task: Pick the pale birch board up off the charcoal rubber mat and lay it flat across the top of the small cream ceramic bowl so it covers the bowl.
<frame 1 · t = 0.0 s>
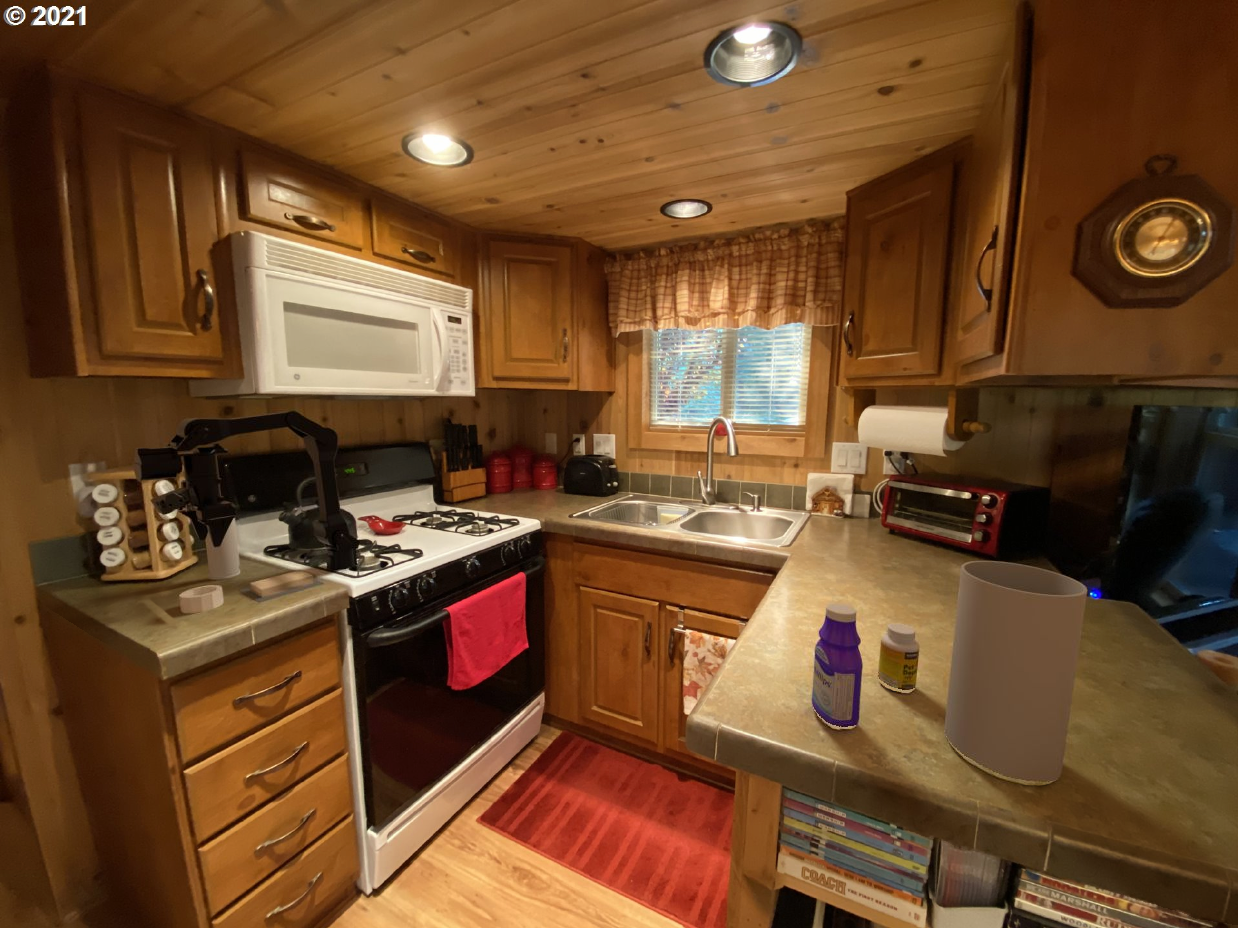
hand: (209, 543, 109), 15 cm above the table, tool pointing down, fingers open, 9 cm apart
travel mug: (226, 579, 127), on the table
cylinder vase: (998, 754, 66), on the table
supplement bottle: (896, 686, 81), on the table
rubber mat: (283, 590, 119), on the table
ceramic bowl: (203, 610, 108), on the table
birch board: (282, 586, 119), point 1 cm above the table, touching rubber mat
bottle: (833, 719, 73), on the table
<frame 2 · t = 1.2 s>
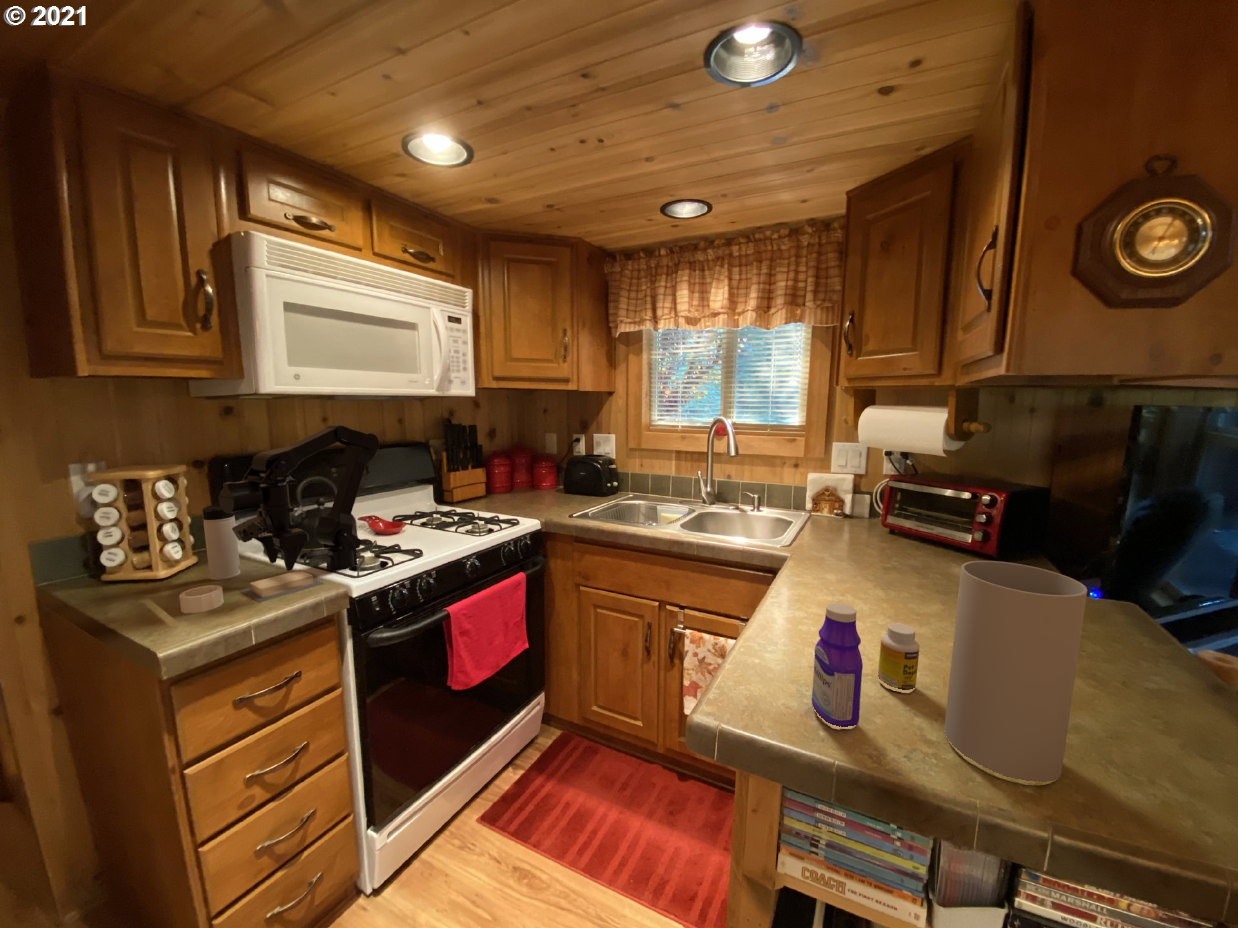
hand: (281, 566, 119), 6 cm above the table, tool pointing down, fingers open, 9 cm apart
nothing on the table moved.
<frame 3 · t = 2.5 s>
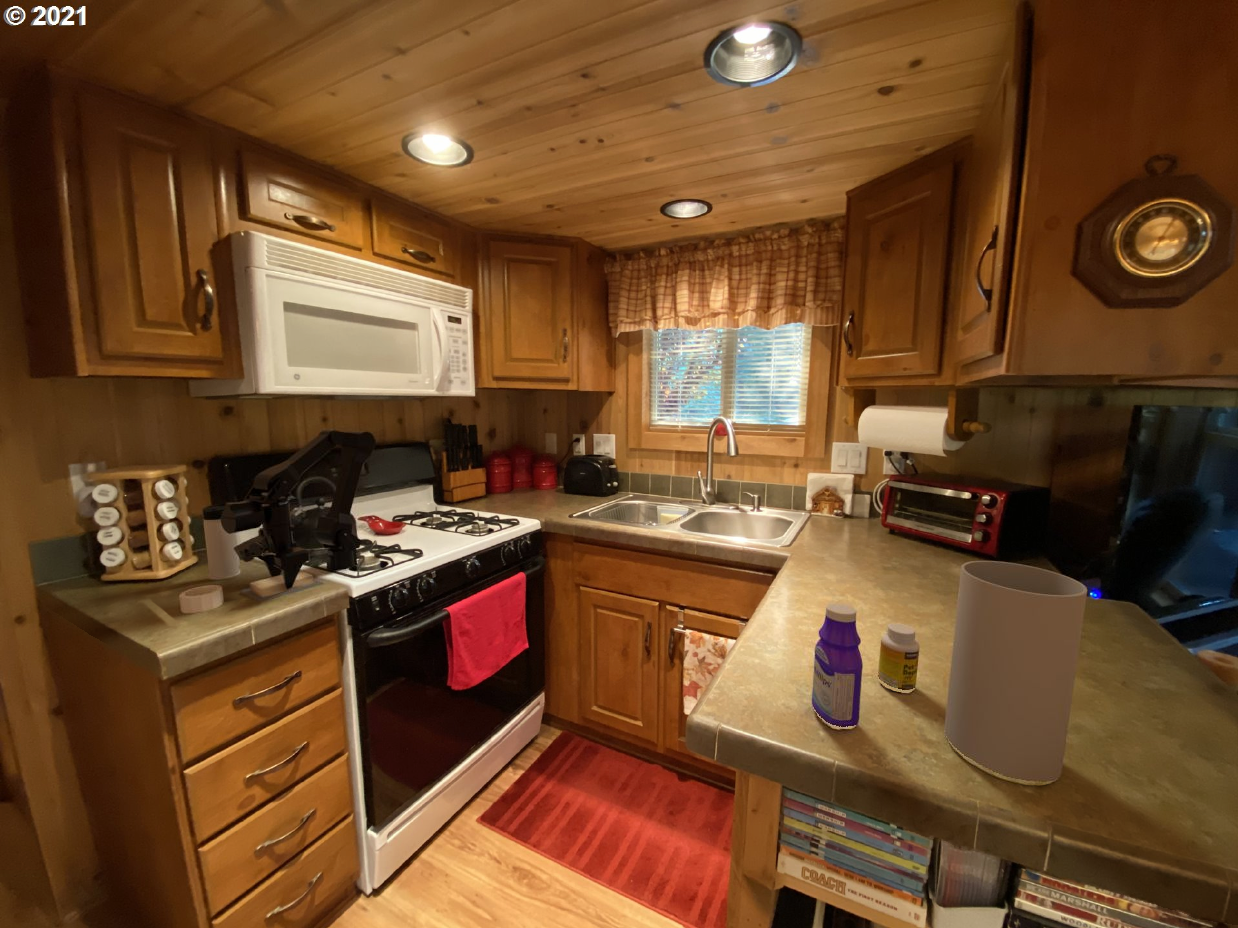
hand: (282, 584, 119), 2 cm above the table, tool pointing down, fingers closed on birch board, 7 cm apart
birch board: (282, 586, 119), point 1 cm above the table, touching gripper, rubber mat
everything else where it was.
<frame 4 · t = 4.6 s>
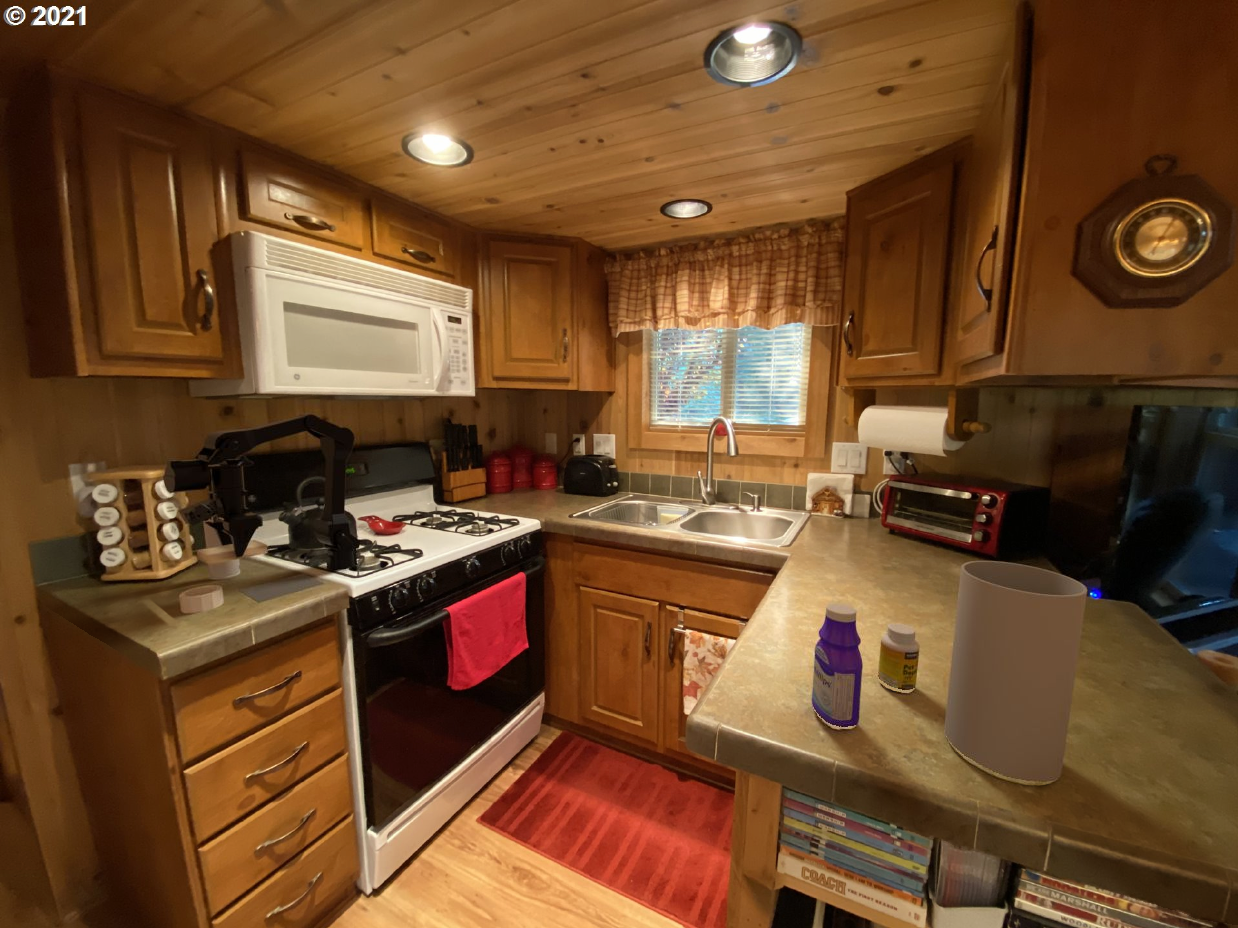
hand: (233, 553, 111), 12 cm above the table, tool pointing down, fingers closed on birch board, 7 cm apart
birch board: (233, 555, 111), point 11 cm above the table, touching gripper
everything else where it was.
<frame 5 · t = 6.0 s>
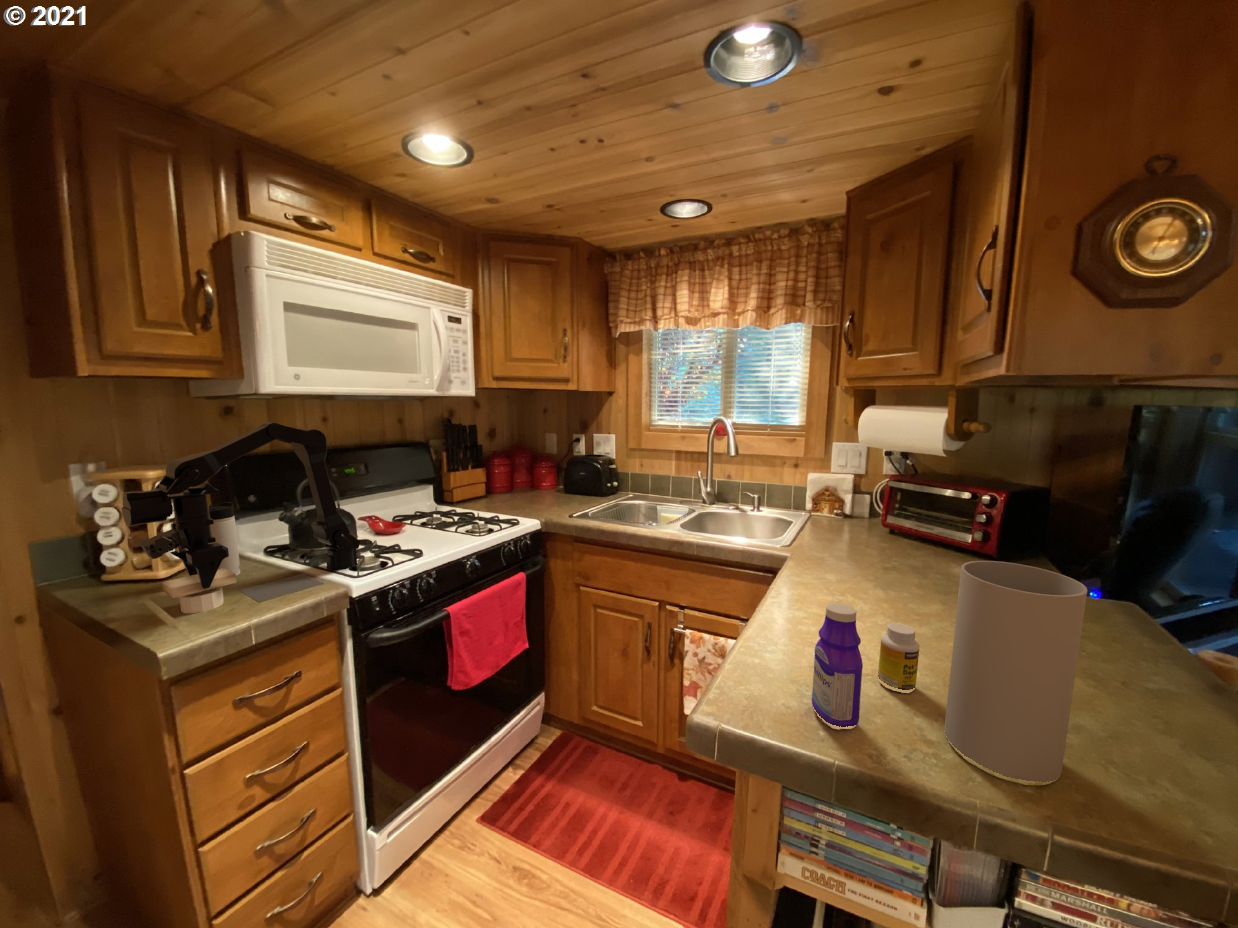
hand: (200, 584, 108), 6 cm above the table, tool pointing down, fingers closed on birch board, 7 cm apart
birch board: (200, 586, 108), point 6 cm above the table, touching gripper
everything else where it was.
when the fingers open (6 cm above the table, at t = 6.9 s): birch board drops 1 cm, resting on ceramic bowl.
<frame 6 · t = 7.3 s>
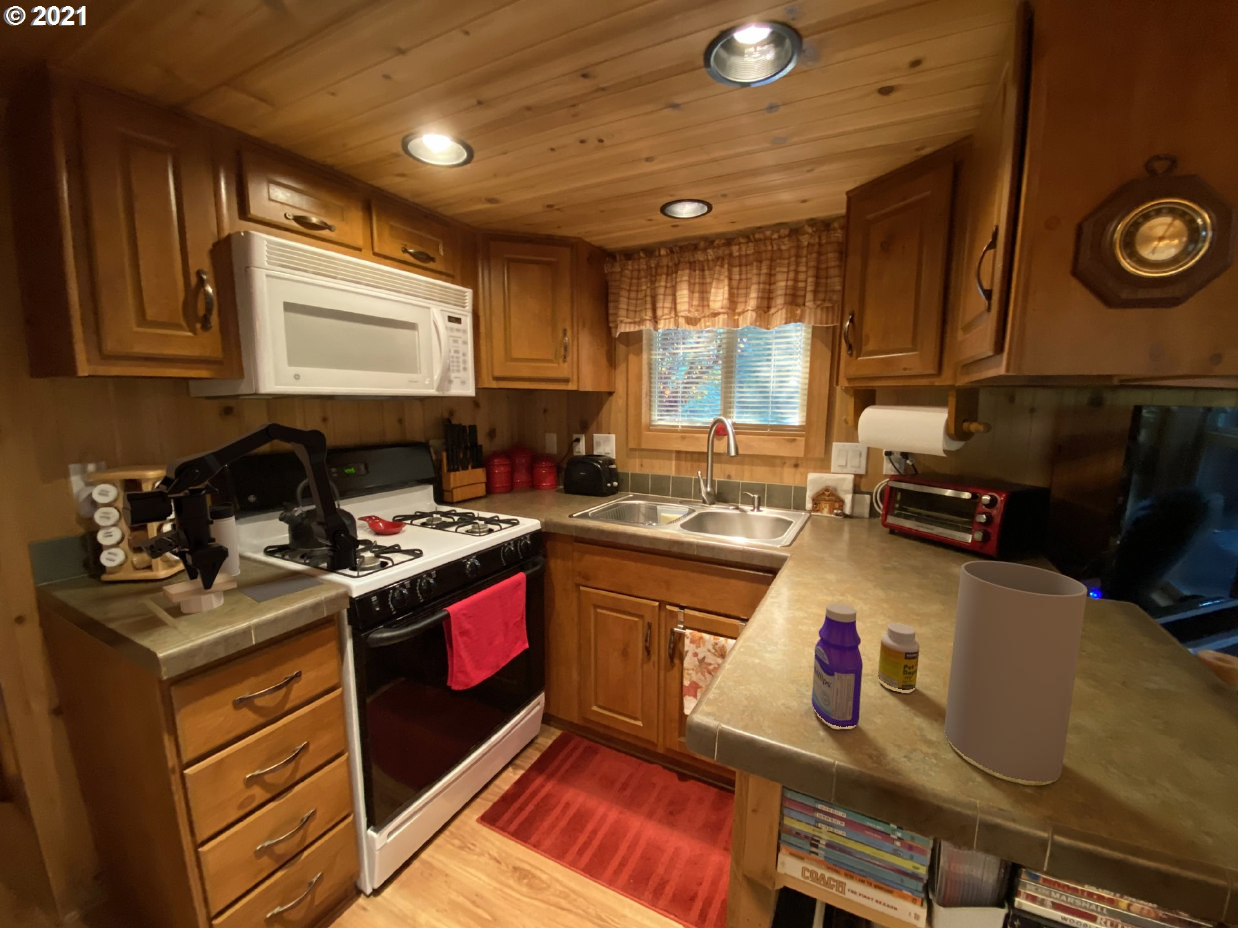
hand: (200, 584, 108), 6 cm above the table, tool pointing down, fingers open, 9 cm apart
birch board: (201, 591, 108), point 4 cm above the table, touching ceramic bowl
everything else where it was.
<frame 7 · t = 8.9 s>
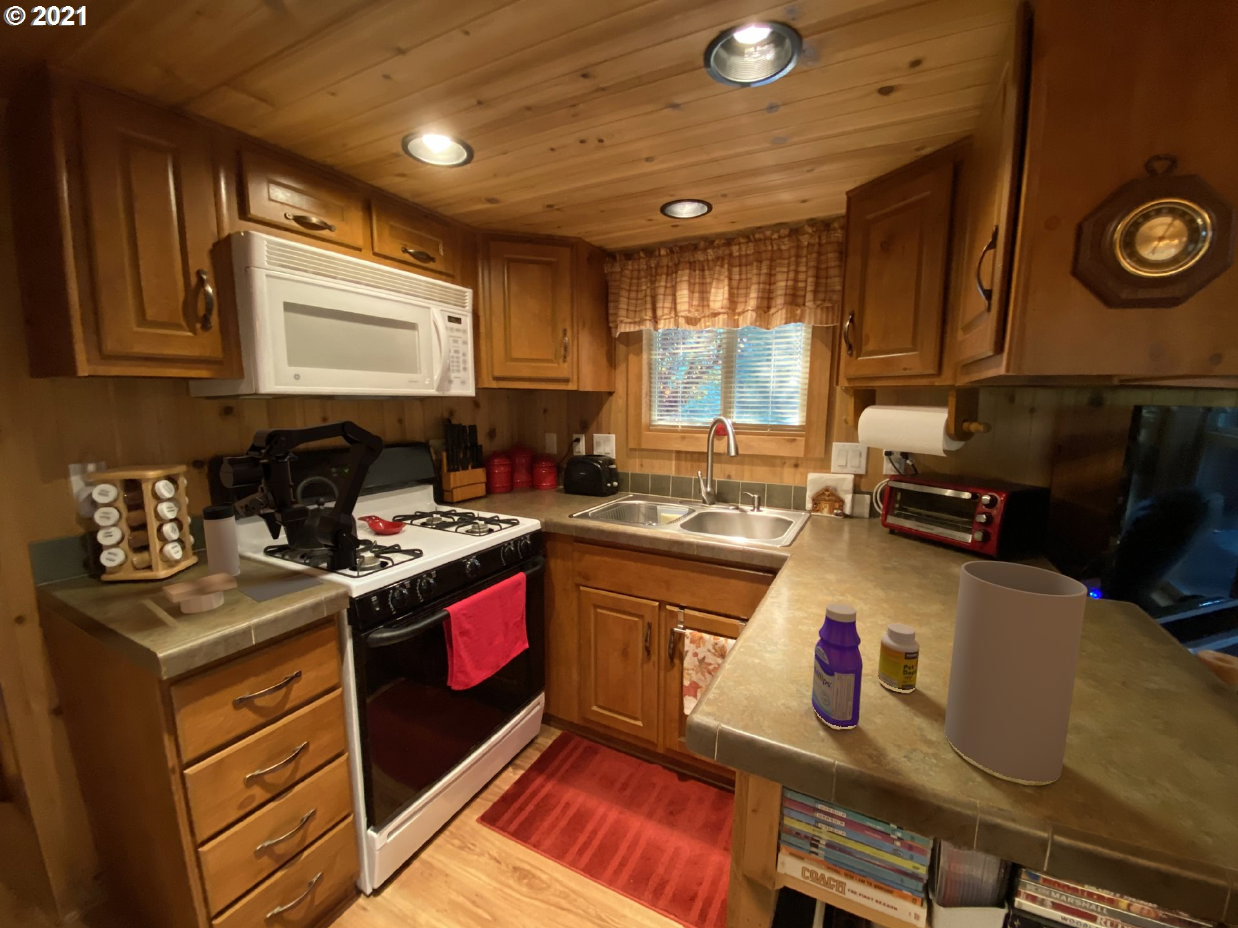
hand: (283, 542, 120), 12 cm above the table, tool pointing down, fingers open, 9 cm apart
nothing on the table moved.
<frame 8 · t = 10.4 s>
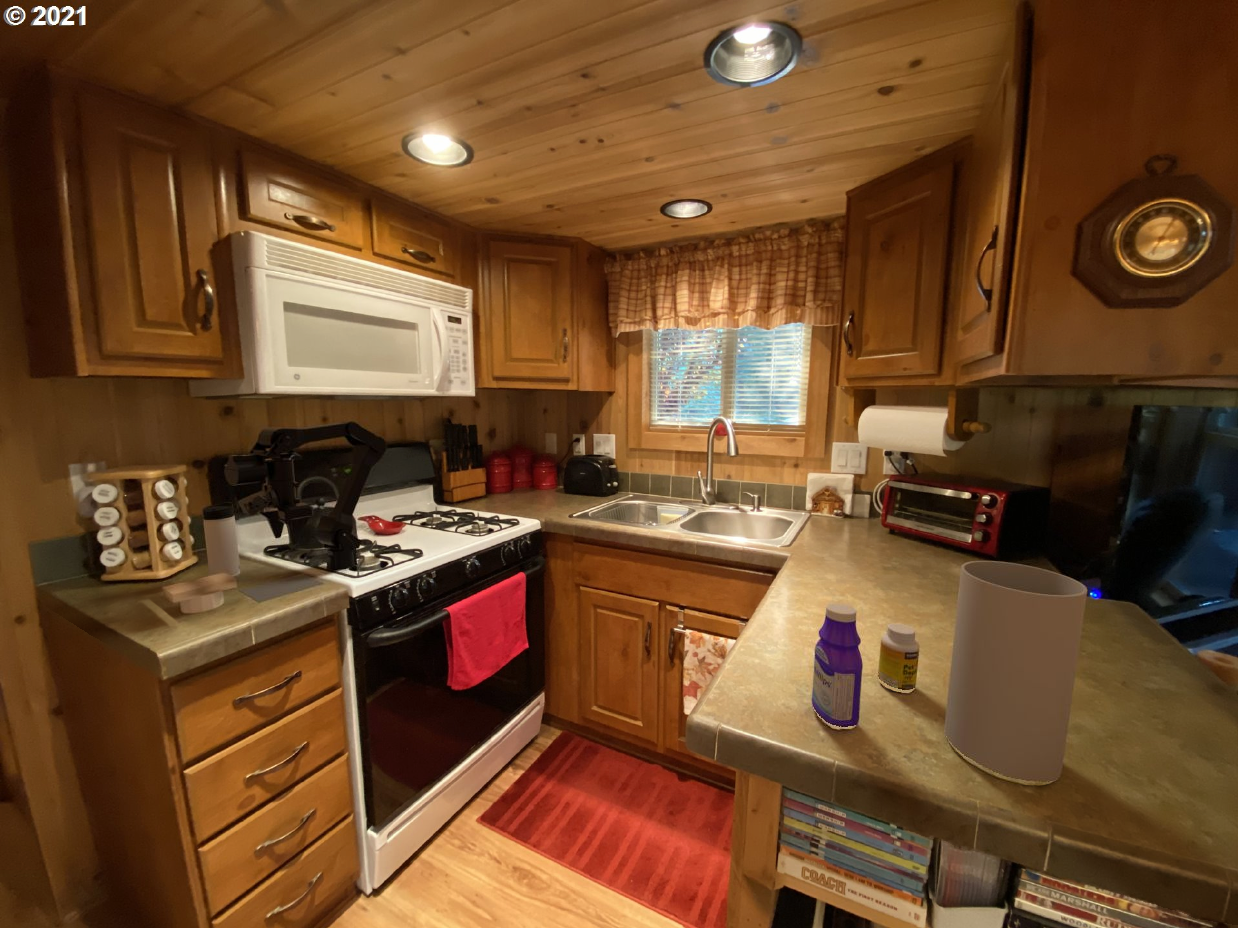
hand: (285, 541, 120), 12 cm above the table, tool pointing down, fingers open, 9 cm apart
nothing on the table moved.
at the end: birch board 0.0 cm off-centre on the ceramic bowl, point 4.5 cm above the ceramic bowl's base; birch board tilted 0°; the gripper is holding nothing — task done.
